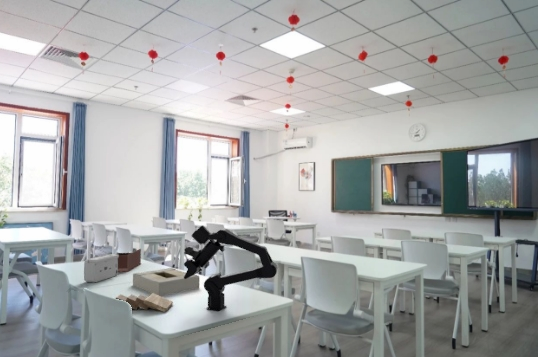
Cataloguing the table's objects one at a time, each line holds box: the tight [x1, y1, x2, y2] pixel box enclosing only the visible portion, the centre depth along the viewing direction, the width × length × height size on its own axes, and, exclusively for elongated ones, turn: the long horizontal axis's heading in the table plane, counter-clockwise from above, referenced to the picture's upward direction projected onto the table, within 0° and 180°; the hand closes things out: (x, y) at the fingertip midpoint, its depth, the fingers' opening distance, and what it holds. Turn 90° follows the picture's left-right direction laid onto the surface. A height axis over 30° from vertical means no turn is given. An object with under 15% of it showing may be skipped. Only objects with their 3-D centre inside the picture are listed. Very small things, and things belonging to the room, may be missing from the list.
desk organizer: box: [115, 248, 142, 273], centre depth 251 cm, size 10×29×11 cm, turn 3°
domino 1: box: [115, 294, 140, 311], centre depth 158 cm, size 2×5×10 cm
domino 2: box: [126, 294, 150, 311], centre depth 158 cm, size 2×5×10 cm
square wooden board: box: [144, 293, 174, 313], centre depth 158 cm, size 2×10×10 cm
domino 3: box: [135, 294, 158, 311], centre depth 158 cm, size 2×5×10 cm
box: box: [132, 267, 200, 297], centre depth 197 cm, size 23×8×32 cm
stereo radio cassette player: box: [83, 247, 119, 283], centre depth 217 cm, size 21×8×20 cm, turn 164°
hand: (184, 278), depth 160 cm, fingers closed
